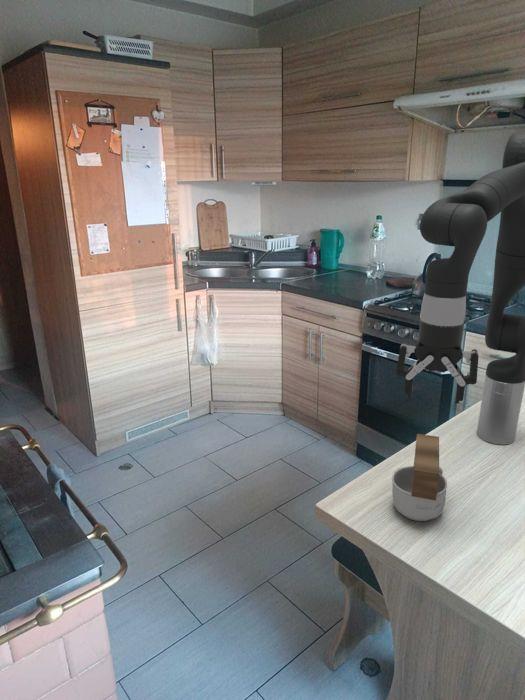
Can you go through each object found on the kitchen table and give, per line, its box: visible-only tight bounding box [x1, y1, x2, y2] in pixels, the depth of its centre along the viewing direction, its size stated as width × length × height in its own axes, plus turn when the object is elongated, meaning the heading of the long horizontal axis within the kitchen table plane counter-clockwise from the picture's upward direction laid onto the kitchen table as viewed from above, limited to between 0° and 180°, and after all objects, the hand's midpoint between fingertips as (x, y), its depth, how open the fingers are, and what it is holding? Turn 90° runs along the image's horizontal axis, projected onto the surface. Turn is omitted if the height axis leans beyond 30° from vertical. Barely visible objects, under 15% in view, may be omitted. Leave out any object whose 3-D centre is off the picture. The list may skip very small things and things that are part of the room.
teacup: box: [391, 465, 448, 522], centre depth 103 cm, size 14×11×8 cm
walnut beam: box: [411, 433, 440, 501], centre depth 100 cm, size 14×4×6 cm, turn 162°
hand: (432, 398), depth 95 cm, fingers open, 8 cm apart
